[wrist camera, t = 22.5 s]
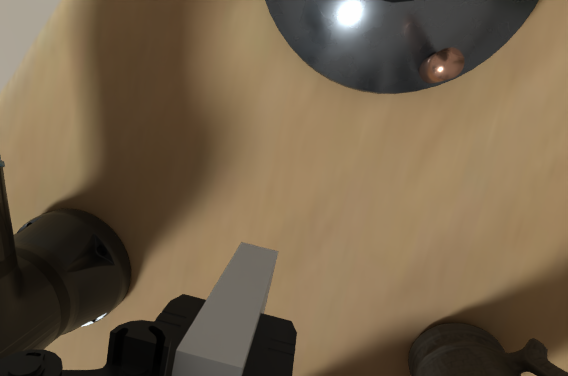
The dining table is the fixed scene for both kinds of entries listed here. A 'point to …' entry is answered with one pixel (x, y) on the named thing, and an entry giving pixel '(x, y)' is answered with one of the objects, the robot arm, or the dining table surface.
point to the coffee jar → (394, 0)
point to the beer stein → (474, 354)
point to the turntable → (397, 38)
